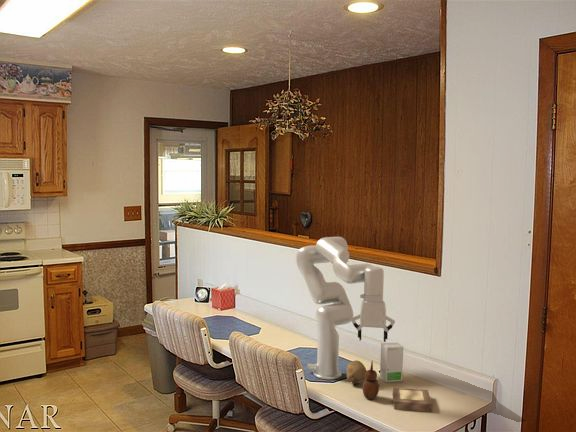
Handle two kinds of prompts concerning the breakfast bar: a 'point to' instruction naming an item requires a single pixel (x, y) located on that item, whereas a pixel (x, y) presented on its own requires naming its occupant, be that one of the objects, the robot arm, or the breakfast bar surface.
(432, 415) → the breakfast bar surface
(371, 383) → the wooden figurine
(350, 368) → the natural sponge
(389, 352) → the skincare box
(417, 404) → the walnut plinth
